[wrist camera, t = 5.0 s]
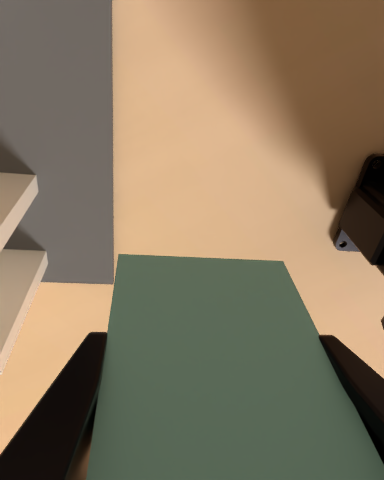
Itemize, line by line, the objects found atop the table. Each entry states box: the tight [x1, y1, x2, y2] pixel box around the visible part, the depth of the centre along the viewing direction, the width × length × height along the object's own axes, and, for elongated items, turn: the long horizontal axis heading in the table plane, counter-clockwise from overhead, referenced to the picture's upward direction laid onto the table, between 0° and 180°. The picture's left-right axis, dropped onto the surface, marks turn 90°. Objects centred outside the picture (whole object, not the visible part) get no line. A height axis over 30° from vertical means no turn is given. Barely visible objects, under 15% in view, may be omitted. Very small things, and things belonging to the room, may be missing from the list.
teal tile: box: [86, 254, 384, 480], centre depth 8 cm, size 5×1×8 cm, turn 83°
